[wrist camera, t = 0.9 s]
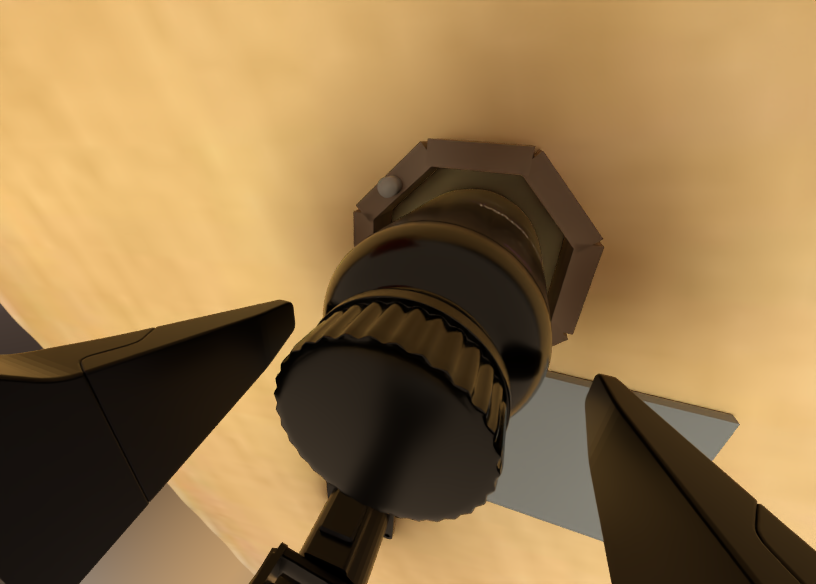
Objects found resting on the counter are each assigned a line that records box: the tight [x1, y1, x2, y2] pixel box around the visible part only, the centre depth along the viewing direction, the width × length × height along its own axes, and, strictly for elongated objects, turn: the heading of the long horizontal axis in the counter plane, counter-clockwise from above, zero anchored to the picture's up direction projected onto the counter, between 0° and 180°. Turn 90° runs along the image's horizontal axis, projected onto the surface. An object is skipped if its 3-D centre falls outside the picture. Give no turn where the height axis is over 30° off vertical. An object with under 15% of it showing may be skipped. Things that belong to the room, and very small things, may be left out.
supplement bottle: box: [274, 189, 552, 522], centre depth 11 cm, size 7×7×12 cm
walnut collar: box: [354, 139, 604, 346], centre depth 15 cm, size 10×10×3 cm
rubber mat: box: [486, 371, 740, 542], centre depth 20 cm, size 12×12×1 cm
